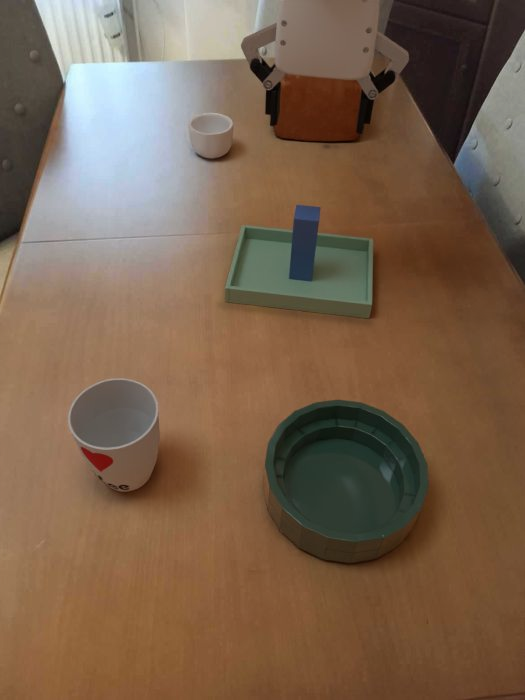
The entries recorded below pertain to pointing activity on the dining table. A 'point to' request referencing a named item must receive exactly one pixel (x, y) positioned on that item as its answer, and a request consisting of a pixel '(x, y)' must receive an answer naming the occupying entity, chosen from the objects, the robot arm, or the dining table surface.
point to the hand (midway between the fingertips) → (316, 124)
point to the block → (304, 242)
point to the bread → (318, 108)
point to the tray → (313, 296)
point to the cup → (117, 431)
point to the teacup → (211, 134)
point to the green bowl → (344, 480)
